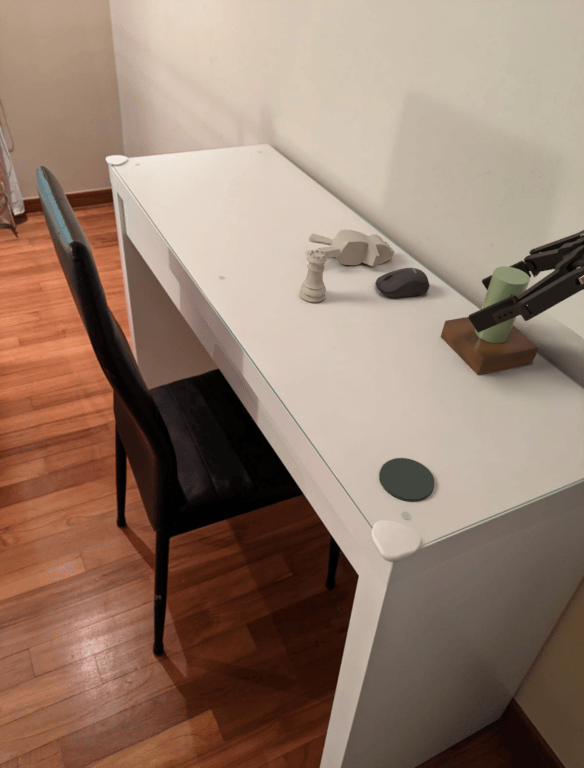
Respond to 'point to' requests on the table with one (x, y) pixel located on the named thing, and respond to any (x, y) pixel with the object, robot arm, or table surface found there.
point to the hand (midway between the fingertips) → (480, 304)
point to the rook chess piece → (314, 278)
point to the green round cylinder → (500, 289)
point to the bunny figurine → (355, 248)
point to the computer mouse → (403, 283)
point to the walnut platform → (488, 347)
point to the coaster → (406, 479)
